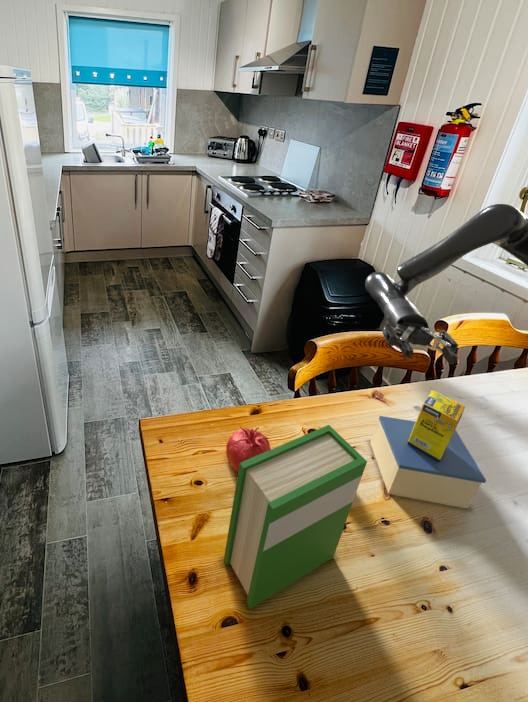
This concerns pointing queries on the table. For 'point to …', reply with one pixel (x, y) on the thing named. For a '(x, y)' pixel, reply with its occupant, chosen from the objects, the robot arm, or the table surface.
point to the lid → (451, 464)
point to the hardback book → (291, 510)
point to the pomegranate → (245, 446)
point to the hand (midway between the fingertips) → (431, 358)
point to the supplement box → (435, 425)
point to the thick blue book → (419, 478)
